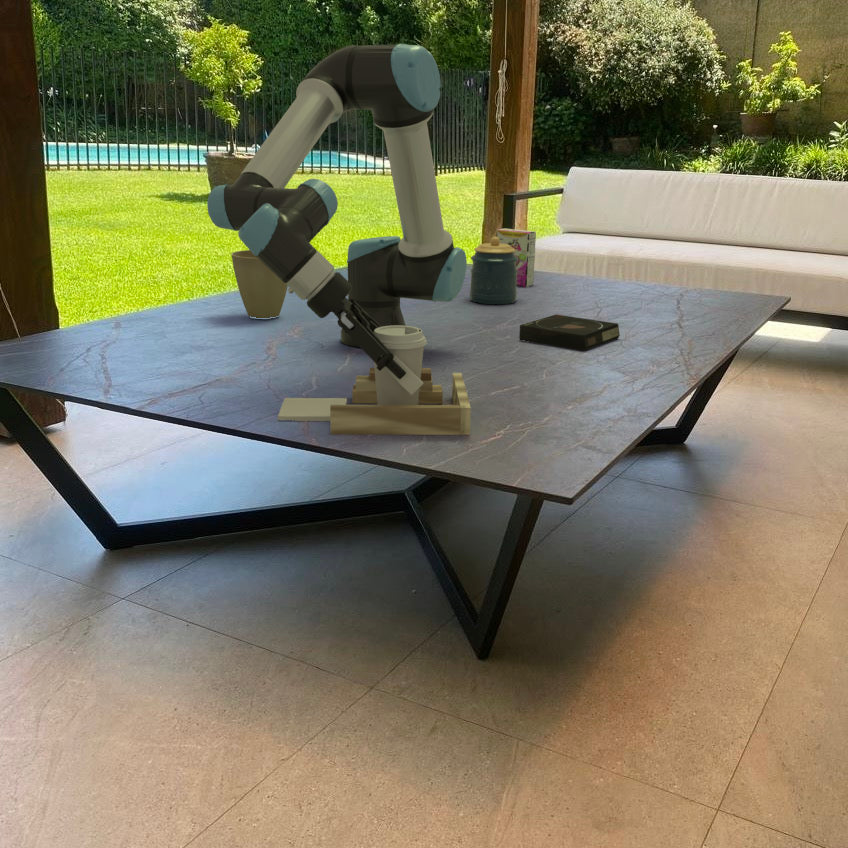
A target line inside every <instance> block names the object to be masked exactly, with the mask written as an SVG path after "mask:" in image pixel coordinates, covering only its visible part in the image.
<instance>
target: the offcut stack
mask: <svg viewBox="0 0 848 848" xmlns="http://www.w3.org/2000/svg"><path fill="white" fill-rule="evenodd" d="M368 371H369V374H368V375H356V377H355V384H353V385H352V390H351V391H352V394H351V395H352V396H351V397H352V398H351V399H352V400H351V401H352V404H378V402H377V391H376V380H375V369H374V367H369V370H368ZM420 380H421V381H422V382H423V385H422V386H421V387H420V389H419V400H418V405H443V396H444V395H443V387H442V386H443V385H442V384H433V383H434V382H433V376H432V368H431V367H425V368H424V367H422V369H421V379H420Z"/></svg>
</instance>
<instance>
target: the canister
mask: <svg viewBox="0 0 848 848" xmlns="http://www.w3.org/2000/svg"><path fill="white" fill-rule="evenodd" d="M473 249H474V252H475V253H474V254H473V255H472V256H471V257H470V260H471V261H472V267H471V268H470V291H469V297H470V301H471V302H473V301H474V303H476V302H478V303H477V304H481V303H484V304H483V305H495V304H497V305H508V304H509V303H510V304H512V303H515V302H516V301H517V297H518V295H517V294H518V292H517V287H518V286H517V272H518V270H517V269H516V262H517V261H518V258H517V257H516V256H515V255H514V252H515V251H516V250H515V249H514V248H512V247H511V246H510V245H508V244H500V239H499V238H498V237H497V236H491V238H490V242H489V243H481V244H479V245H478V246H476V247H474V248H473ZM510 304H509V305H510Z"/></svg>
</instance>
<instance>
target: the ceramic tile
mask: <svg viewBox="0 0 848 848" xmlns="http://www.w3.org/2000/svg"><path fill="white" fill-rule="evenodd" d="M331 405H348V398H347V397H284V400H283V402H282V404H281V407H280V410H279V413H278V415H277V421H278V420H292V421H291V422H330V406H331ZM294 420H295V421H294Z"/></svg>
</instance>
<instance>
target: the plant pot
mask: <svg viewBox="0 0 848 848" xmlns="http://www.w3.org/2000/svg"><path fill="white" fill-rule="evenodd" d="M230 255H231V261H232V266H233V271H234V272H233V273H234V277H235V281H236V284H237V288H238V291H239V294H240V297H241V301H242V303H243V306H244V308H245V312H246V314H247V316H248V317H249V316H251V317H256V318H270V317H276V316H280V314H281V311H282V308H283V306H284V303H285V299H286V295H287V292H288V288H289V287H288V286H287V285H286V284H285V283H284V282H283V281H282V280H281V279H280V278H279V277H278V276H276V275H275V274H274V273H273V272H272V271H271V270H270V269H269V268H268V267H267V266H266V265H265V264H264V263H263V262H262V261H260V260H259V259H258V258H257V257H256V256H254V255H253V254H252V252H251V251H250V250H249V249H244V250H237V251H234V252H232V253H231V254H230Z"/></svg>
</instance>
